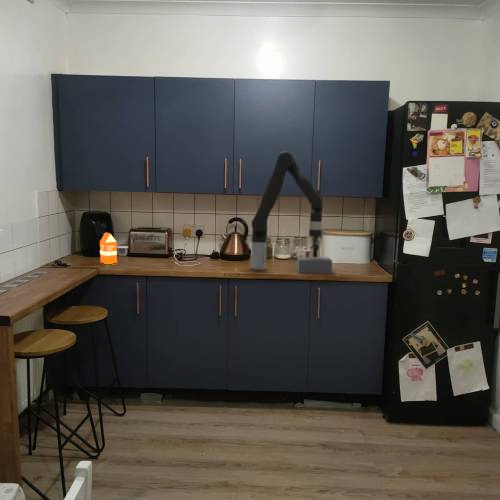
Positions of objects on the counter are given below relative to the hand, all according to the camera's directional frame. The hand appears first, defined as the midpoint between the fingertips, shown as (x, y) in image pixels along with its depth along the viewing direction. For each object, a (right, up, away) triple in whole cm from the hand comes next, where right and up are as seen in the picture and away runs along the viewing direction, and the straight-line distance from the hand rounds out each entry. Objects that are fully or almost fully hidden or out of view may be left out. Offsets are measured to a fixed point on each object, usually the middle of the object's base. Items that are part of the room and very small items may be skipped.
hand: (314, 256), depth 282 cm
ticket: (0, -8, +1) cm, 8 cm away
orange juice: (-132, -5, +16) cm, 133 cm away
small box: (-1, -7, +20) cm, 21 cm away
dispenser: (0, -10, +1) cm, 10 cm away
